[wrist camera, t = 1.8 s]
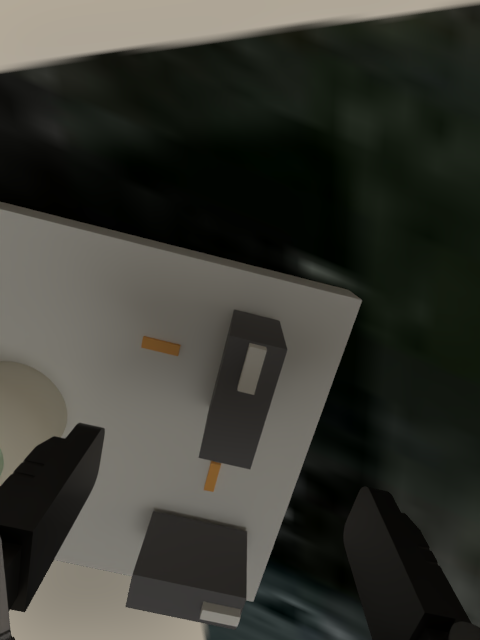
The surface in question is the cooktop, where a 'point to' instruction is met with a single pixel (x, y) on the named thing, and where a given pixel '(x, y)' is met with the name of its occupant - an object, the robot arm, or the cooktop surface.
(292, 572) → the cooktop surface
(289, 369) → the base plate
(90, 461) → the robot arm
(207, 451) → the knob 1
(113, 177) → the cooktop surface
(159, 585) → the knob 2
